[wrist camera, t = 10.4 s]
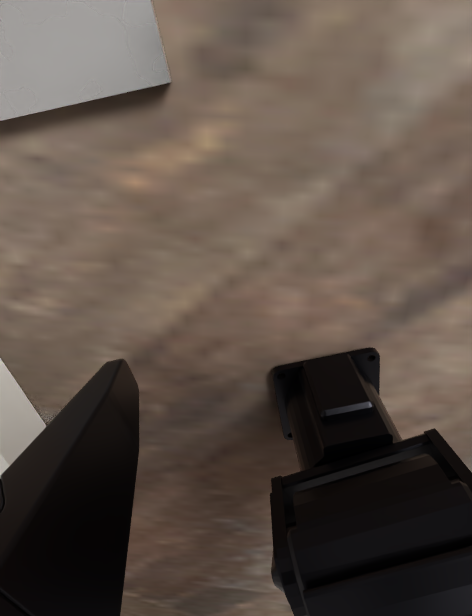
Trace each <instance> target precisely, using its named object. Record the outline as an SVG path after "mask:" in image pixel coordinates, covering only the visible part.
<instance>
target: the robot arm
mask: <svg viewBox="0 0 472 616" xmlns="http://www.w3.org/2000/svg"><path fill="white" fill-rule="evenodd" d="M370 355H372V356H371V357H369V356H370ZM280 373H283V374H282V375H278V374H280ZM379 373H380V356H379V353H378V352H377V350H376V349H375V348H365V349H360V350H356V351H351V352H346V353H341V354H336V355H331V356H326V357H321V358H316V359H311V360H306V361H301V362H296V363H291V364H286V365H281V366H278V367H275V368H274V369H273V371H272V376H273V381H274V386H275V392H276V397H277V402H278V408H279V413H280V418H281V423H282V429H283V434H284V437H285V439H287V440H293V441H294V445H295V449H296V453H297V457H298V461H299V465H300V469H301V471H300V472H297V473H294V474H291V475H287V476H284V477H282V476H278V477H275V478H271V483H272V493H270V504H271V518H272V535H273V557H272V568H271V574H272V579H273V582H274V585H275V586H276V587H277V588H279V589H280V590H281V591H283V592H284V593H285V595H286V598H287V600H288V602H289V604H290V606H291V609H292V611H293V614H294V616H472V473H471V471H470V470H469V469H468V468H467V467H466V465H465V464H464V463H463V462H462V460H461V459H460V458H459V457H458V456H457V454H456V453H455V452H454V451H453V450H452V448H451V447H450V446H449V445H448V444H447V442H446V441H445V440H444V439H443V437H442V436H441V435H440V434H439V433H438V431H437V430H436V429H435V428H434V429H431V430H428V431H424V434H421V435H418V436H415V437H411V438H408V439H405V440H402V438H401V437H400V435H399V433H398V431H397V429H396V427H395V425H394V423H393V422H392V420H391V418H390V416H389V414H388V412H387V410H386V408H385V406H384V405H383V403H382V401H381V399H380V397H379ZM138 455H139V389H138V385H137V382H136V380H135V378H134V376H133V374H132V372H131V370H130V368H129V366H128V364H127V362H126V361H125V360H124V359H118V360H113V361H109V362H107V363H105V364H104V365H103V366H102V368H101V369H100V370H99V371H98V372H97V373H96V374H95V375H94V376H93V377H92V378H91V379H90V380H89V381H88V383H87V384H86V385H85V386H84V387H83V388H82V389H81V390H80V391H79V392H78V393H77V394H76V395H75V396H74V397H73V399H72V400H71V401H70V402H69V403H68V404H67V405H66V406H65V407H64V408H63V409H62V410H61V411H60V412H59V414H58V415H57V416H56V417H55V418H54V419H53V420H52V421H51V422H50V423H49V424H48V425H47V426H46V427H45V429H44V430H43V431H42V432H41V433H40V434H39V435H38V436H37V437H36V438H35V439H34V440H33V441H32V442H31V443H30V445H29V446H28V447H27V448H26V449H25V450H24V451H23V452H22V453H21V454H20V455H19V456H18V457H17V458H16V459H15V461H14V462H13V463H12V464H11V465H10V466H9V467H8V468H7V469H6V470H5V471H4V472H3V473H2V474H1V479H0V616H120V612H121V604H122V595H123V586H124V578H125V569H126V560H127V552H128V543H129V534H130V525H131V517H132V508H133V499H134V491H135V482H136V473H137V465H138Z"/></svg>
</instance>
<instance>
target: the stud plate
mask: <svg viewBox="0 0 472 616" xmlns="http://www.w3.org/2000/svg"><path fill="white" fill-rule="evenodd" d="M171 81H172V79H171V75H170V71H169V67H168V63H167V59H166V55H165V50H164V46H163V42H162V38H161V34H160V30H159V26H158V22H157V18H156V13H155V9H154V5H153V1H152V0H0V121H2V120H6V119H11V118H15V117H20V116H24V115H28V114H33V113H37V112H42V111H46V110H51V109H55V108H59V107H64V106H68V105H73V104H77V103H82V102H86V101H90V100H95V99H99V98H104V97H108V96H113V95H117V94H121V93H126V92H130V91H135V90H139V89H144V88H148V87H152V86H157V85H161V84H166V83H170V82H171Z"/></svg>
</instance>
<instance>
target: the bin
mask: <svg viewBox="0 0 472 616" xmlns="http://www.w3.org/2000/svg"><path fill="white" fill-rule="evenodd" d="M45 427H46V425H45V423H44V422H43V420H42V419H41V417H40V416H39V414H38V413H37V411H36V410H35V408H34V407H33V406H32V404H31V403H30V401H29V400H28V398H27V397H26V395H25V394H24V392H23V391H22V389H21V388H20V386H19V385H18V383H17V382H16V380H15V379H14V377H13V376H12V374H11V373H10V371H9V370H8V369H7V367H6V366H5V364H4V363H3V361H2V360H1V358H0V479H1V474H2V473H3V472H4V471H5V470H6V469H7V468H8V467H9V466H10V465H11V464H12V463H13V462H14V461H15V459H16V458H17V457H18V456H19V455H20V454H21V453H22V452H23V451H24V450H25V449H26V448H27V447H28V446H29V445H30V443H31V442H32V441H33V440H34V439H35V438H36V437H37V436H38V435H39V434H40V433H41V432H42V431H43V430H44V429H45Z"/></svg>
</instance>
